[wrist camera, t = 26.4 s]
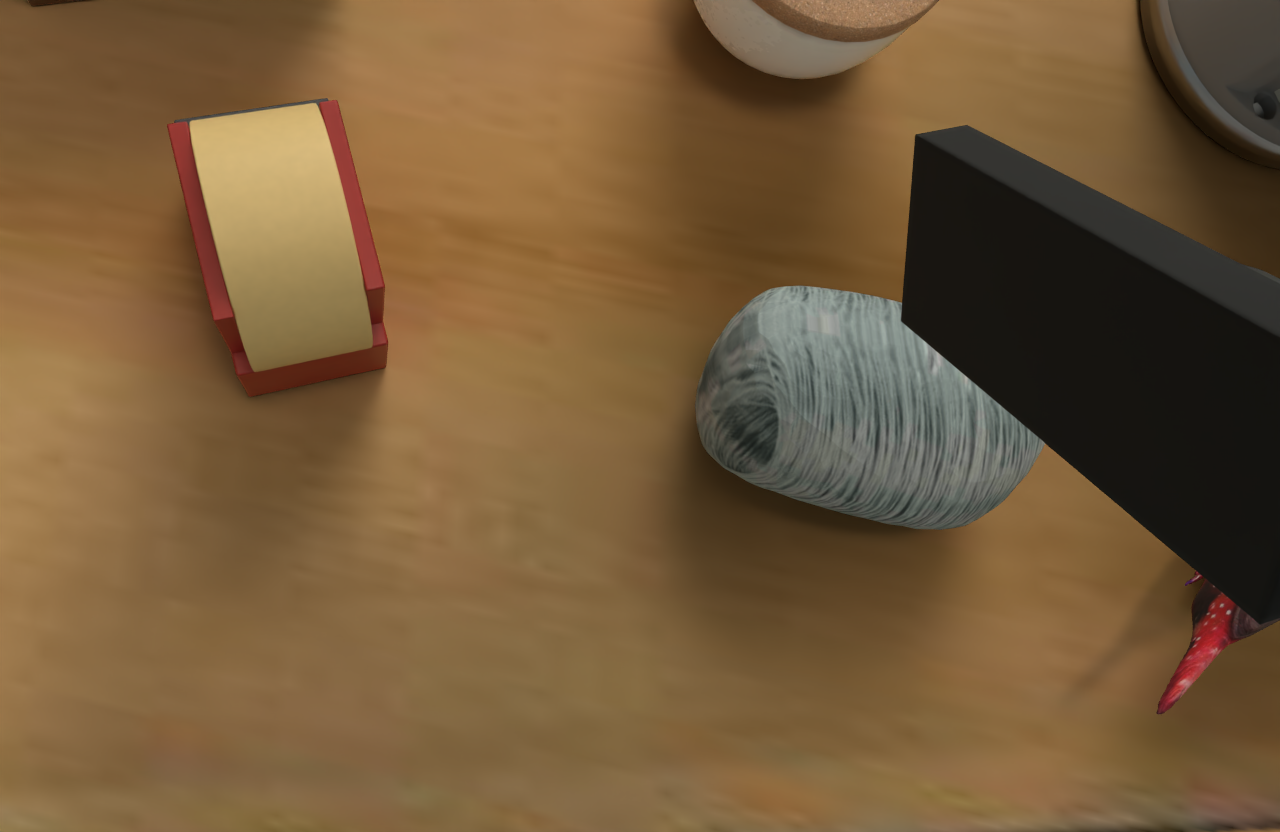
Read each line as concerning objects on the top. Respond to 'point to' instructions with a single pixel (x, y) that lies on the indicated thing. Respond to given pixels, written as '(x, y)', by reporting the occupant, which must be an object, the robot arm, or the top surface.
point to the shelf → (47, 2)
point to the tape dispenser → (283, 243)
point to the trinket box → (808, 32)
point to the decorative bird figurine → (1208, 637)
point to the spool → (855, 413)
